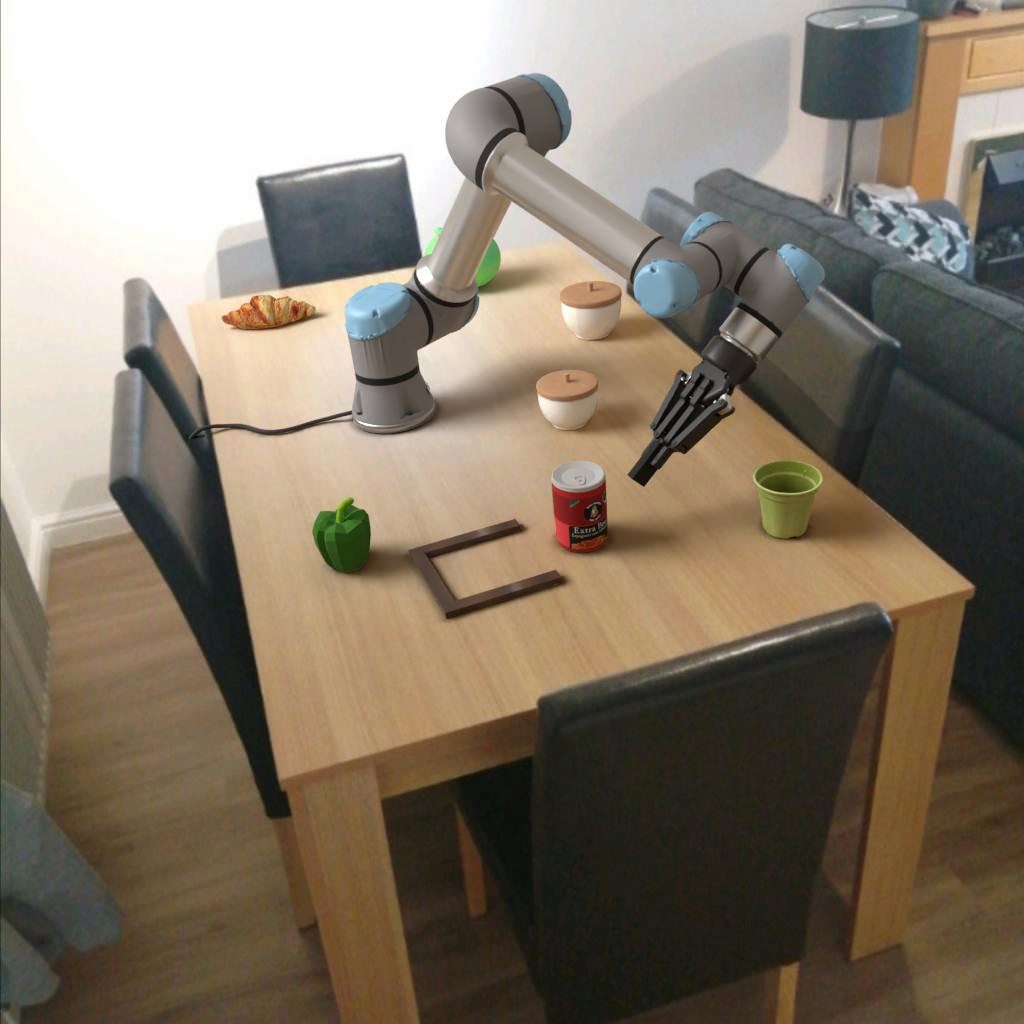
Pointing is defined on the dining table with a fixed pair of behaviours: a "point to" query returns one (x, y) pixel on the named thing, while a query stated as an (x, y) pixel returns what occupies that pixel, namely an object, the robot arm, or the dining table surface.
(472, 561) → the dining table surface
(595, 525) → the canned food
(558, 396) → the trinket box
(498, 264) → the toy bird
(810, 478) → the plant pot
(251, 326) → the croissant
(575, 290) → the lidded bowl
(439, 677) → the dining table surface
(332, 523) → the bell pepper
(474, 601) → the walnut frame
